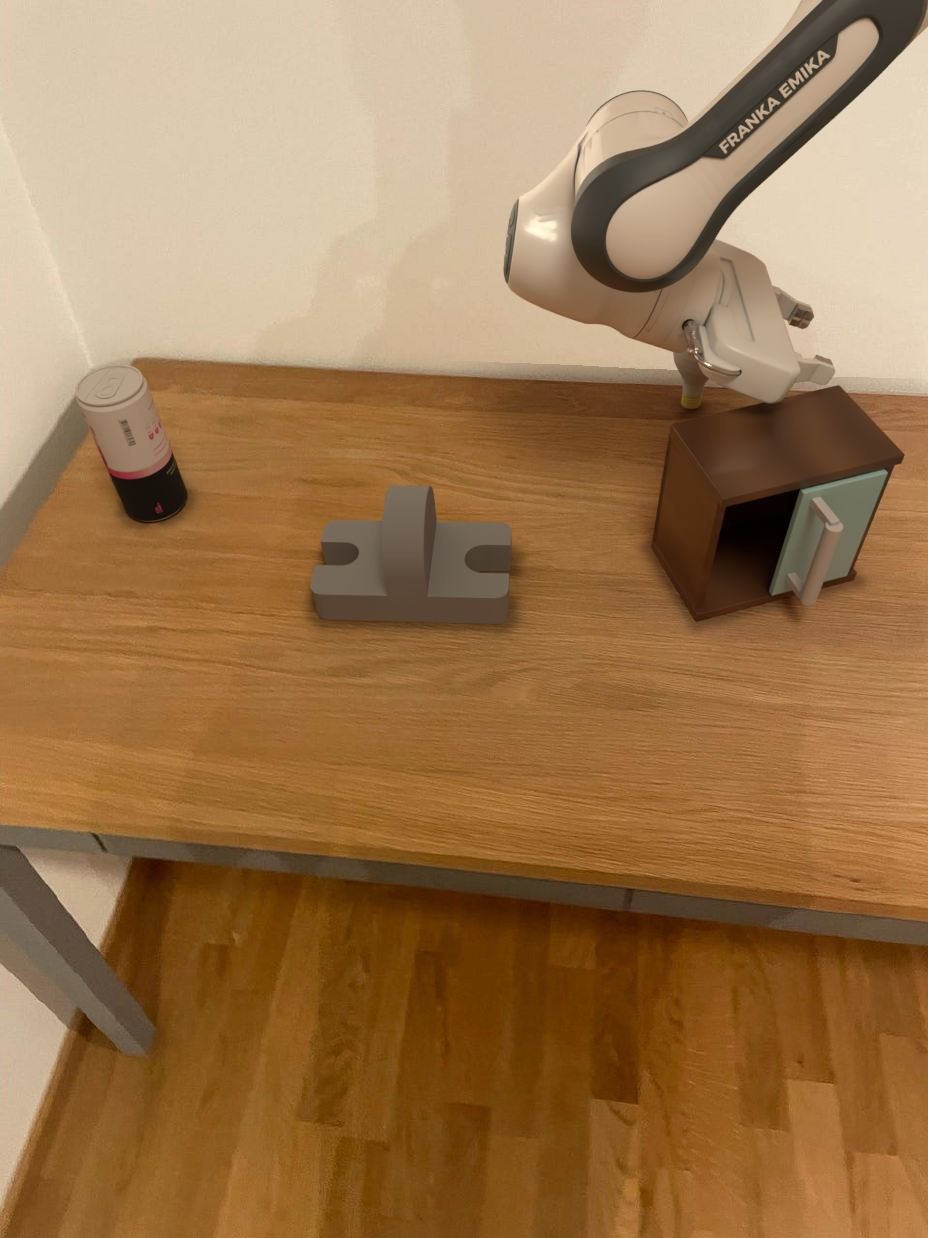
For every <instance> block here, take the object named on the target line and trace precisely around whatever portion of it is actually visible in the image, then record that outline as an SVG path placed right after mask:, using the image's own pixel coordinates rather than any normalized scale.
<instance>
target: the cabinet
mask: <svg viewBox="0 0 928 1238" xmlns="http://www.w3.org/2000/svg"><path fill="white" fill-rule="evenodd" d="M665 448H666V449H665V455H664V461H663V462H664V463H663V468H662V475H661V481H660V486H659V487H660V488H659V495H658V501H657V507H656V512H655V513H656V514H655V520H654V528H653V534H652V540H651V545H650V547H651V549H652V552H653V553H654V555H655V556H656V558H657V559H658V561H659V563H660V564H661V566H662V567H663V569H664V571H665V573H666V574H667V576H668V577H669V579H670V582H672V585H673V586H674V587H675V589H676V591H677V592H678V594H679V596H680V597H681V599H682V601H683V602H684V604H685V606H686V608H687V609H688V611H689V613H690V614H691V616H692V617H693V619H694V621H695V622H700V621H704V620H707V619H712V618H715V617H719V616H723V615H726V614H730V613H734V612H737V611H742V610H745V609H749V608H753V607H756V606H761V605H765V604H768V603H771V602H775V601H779V600H783V599H787V598H790V597H795V596H796V594H795V593H794V591H793V590H791V591H788V592H784V593H780V594H776V595H773V596H772V595H771V594H770V592H769V589H770V586H771V583H772V579H773V576H774V573H775V570H776V566H777V563H778V560H779V557H780V553H781V550H782V547H783V544H784V540H785V537H786V534H787V531H788V527H789V524H790V521H791V518H792V514H793V511H794V508H795V505H796V502H797V498H798V495H799V492H800V489H803V488H807V487H811V486H815V485H819V484H823V483H827V482H831V481H835V480H839V479H843V478H848V477H852V476H856V475H860V474H864V473H868V472H872V471H876V470H880V469H885V470H886V471H887V472H888V474H887V476H886V479H885V481H884V484H883V487H882V489H881V492H880V494H879V497H878V499H877V502H876V504H875V507H874V509H873V512H872V514H871V517H870V519H869V522H868V524H867V527H866V529H865V532H864V534H863V537H862V539H861V542H860V544H859V547H858V549H857V552H856V554H855V557H854V559H853V562H852V564H851V567H850V569H849V572H848V575H847V576H845V577H841V578H837V579H833V580H829V581H826V582H823V584H822V587H821V589H825V588H828V587H832V586H836V585H839V584H840V585H841V584H843V583H847V582H852V581H855V580H856V576H857V574H858V571H856V570H855V566H856V564H857V561H858V558H859V555H860V553H861V550H862V548H863V546H864V543H865V541H866V538H867V536H868V533H869V531H870V528H871V525H872V523H873V520H874V518H875V516H876V513H877V511H878V508H879V506H880V503H881V500H882V498H883V496H884V494H885V491H886V488H887V486H888V483H889V480H890V478H891V476H892V474H893V471H894V469H895V467H896V466H897V465H902V464H903V460H904V459H905V455H906V454H905V453H904V452H903V450H901V449H900V448H899V446H897V444H896V443H895V442H894V441H893V440H892V439H891V438H890V437H889V436H888V435H887V434H886V433H885V432H884V430H882V429H881V428H880V426H879V425H878V424H877V423H876V422H875V421H874V420H873V419H872V418H871V417H870V416H869V414H867V412H865V410H864V409H863V408H861V406H860V405H859V404H858V403H857V401H855V400H854V399H853V398H852V397H851V395H849V393H847V392H846V390H845V389H844V388H843V387H842V386H841V385H839V384H837V385H833V386H828V387H824V388H819V389H816V390H811V391H807V392H803V393H798V394H794V395H793V394H792V395H789V396H785V397H784V399H783V400H782V401H781V402H777V403H772V404H769V403H765V402H759V403H754V404H750V405H749V404H748V405H746V406H740V407H737V408H733V409H728V410H723V411H719V412H714V413H711V414H706V415H701V416H697V417H694V418H688V419H685V420H680V421H676V422H672V423H670V424H669V430H668V437H667V444H666V447H665Z"/></svg>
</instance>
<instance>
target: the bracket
mask: <svg viewBox="0 0 928 1238" xmlns="http://www.w3.org/2000/svg"><path fill="white" fill-rule="evenodd" d="M437 520H438V519H437V511H436V500H435V493H434V489H433V487H432V486H431V485H389V486H388V488H387V490H386V493H385V498H384V504H383V509H382V520H368V519H367V520H366V519H365V520H360V519H359V520H357V519H334V520H331V521H329V522H327V523H326V524H325V525H324V526H323V530H322V534H321V538H320V546H321V550H322V555H323V559H324V563H325V564H314V567H313V573H312V576H311V580H310V583H309V584H310V585H309V586H310V591H311V595H312V599H313V603H314V606H315V611H316V615H317V616H318V617H319V618H320V619H322V620H324V621H347V622H349V621H352V622H391V623H392V622H393V623H428V624H429V623H434V624H435V623H437V624H473V625H474V624H475V625H500V624H503V623H504V622H506V621H507V620H508V619H509V616H510V602H511V600H510V599H511V598H510V591H511V590H510V588H511V587H510V573H506V572H512V561H513V555H512V554H513V553H512V552H513V547H512V545H513V544H512V543H513V542H512V528H511V526H510V525H509V524H507V523H505V522H497V521H495V522H494V521H493V522H492V521H437ZM497 572H499V573H497ZM500 572H501V573H500ZM502 572H503V573H502ZM504 572H505V573H504Z"/></svg>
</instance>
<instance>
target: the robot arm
mask: <svg viewBox="0 0 928 1238" xmlns="http://www.w3.org/2000/svg"><path fill="white" fill-rule="evenodd" d="M927 28H928V0H800V1H799V3H798V6H797V7H796V9H795V10H794V12H793V14H792V16H791V17H790V19H789V20H788V22H786V25H785V26H784V27H783V28H782V30H781V31H780V32H779V33H778V35H777V36H776V37H775V38H774V39H773V40H772V41H771V43H770V44H769V45H767V46H766V48H764V50H762V51H761V52H760V53H759V54H758V56H756V57H755V58H754V59H753V60H752V61H751V62H750V63H749V64H748V65H747V66H746V67H745V68H744V69H743V70H742V71H741V72H740V73H739V74H738V75H737V76H735V78H733V79H732V80H731V81H730V83H728V84H727V85H726V86H725V87H724V88H723V89H722V90H721V91H720V92H719V93H718V94H717V95H716V96H715V97H714V98H713V99H712V100H711V101H710V102H708V103H707V105H706V106H705V107H704V108H702V109H701V110H700V112H699V113H697V115H695V116H694V117H693V118H692V119H691V120H690V121H689V119H688V117H687V116H686V113H684V111H683V110H682V108H681V107H680V106H679V105H678V104H677V102H675V101H674V100H672V99H671V98H669V97H668V96H666V95H664V94H662V93H660V92H656V91H652V90H645V89H644V90H643V89H641V90H640V89H639V90H638V89H637V90H630V91H627V92H626V91H625V92H623V93H620V94H618V95H615V96H613V97H611V98H610V99H609V100H607V101H605V102H603V104H602V105H600V107H598V108H597V109H596V111H594V113H593V114H592V115H591V117H590V118H589V120H588V122H587V124H586V125H585V128H584V129H583V130H582V132H581V133H580V135H579V136H578V138H577V139H576V141H575V142H574V144H573V145H572V147H571V148H570V149H569V151H568V152H567V153H566V154H565V156H564V157H563V158H562V160H561V161H559V163H558V164H557V165H556V167H555V168H553V170H551V172H550V173H549V174H548V175H547V176H546V177H545V178H544V179H543V180H541V182H540V183H539V184H537V185H536V186H535V187H533V188H531V189H530V190H528V191H527V192H525V193H523V194H521V195H520V196H519V197H518V198H517V199H516V200H515V203H513V205H512V208H511V211H510V215H509V219H508V224H507V225H508V226H507V231H506V239H505V249H504V254H503V270H502V271H503V278H504V282H505V283H506V286H507V287H508V289H509V290H510V291H511V292H512V293H513V294H515V295H516V296H517V297H519V298H521V299H522V300H524V301H526V302H528V303H530V304H532V305H534V306H536V307H538V308H540V309H543V310H545V311H548V312H549V313H553V314H555V315H558V316H560V317H564V318H565V319H568V320H572V321H574V322H577V323H578V322H579V323H581V324H584V325H600V326H606V327H609V328H611V329H613V330H615V331H616V332H618V333H620V334H621V335H622V336H624V337H626V338H628V339H631V340H634V341H636V342H637V341H638V342H641V343H644V344H647V345H649V346H652V347H655V348H658V349H662V350H665V351H669V352H671V353H673V352H674V353H682V352H684V351H685V350H686V349H687V350H688V354H689V356H690V357H691V358H693V359H696V360H697V361H698V363H699V367H700V369H701V371H702V373H703V374H704V375H705V376H706V377H708V378H709V380H710V381H712V382H714V383H716V384H717V385H720V386H722V387H724V388H727V389H728V390H730V391H732V392H735V393H738V394H741V395H743V396H746V397H748V398H750V399H754V400H756V401H759V402H760V403H762V402H765V403H769V404H772V403H777V402H781V401H782V400H783V399H784V397H787V394H788V393H789V392H790V390H791V389H792V387H793V386H794V384H798V383H804V382H811V383H814V384H817V385H821V386H826V385H827V384H829V383H830V381H831V380H832V378H833V377H834V375H835V374H836V368H835V366H834V363H833V361H832V359H831V358H827V357H824V356H822V355H819V354H815V355H814V357H813V358H809V357H808V358H807V357H803V355H802V354H801V353H799V352H796V351H795V349H794V346H793V343H792V341H791V337H790V333H789V331H788V328H787V324H788V325H789V326H791V327H794V328H798V329H801V330H805V329H807V328H808V327H809V326H810V325H811V324H810V323H811V322H812V321H813V319H814V318H815V313H814V311H813V308H812V306H811V305H810V304H808V303H805V302H803V301H801V300H797V299H795V298H794V297H793V296H791V295H790V294H789V293H787V292H786V291H784V290H783V289H781V288H780V287H778V286H776V285H773V284H772V281H771V277H770V275H769V274H770V273H769V271H768V269H767V265H766V263H765V262H763V260H761V259H760V258H759V257H757V256H755V254H752V253H750V252H749V251H747V250H745V249H742V248H740V247H737V246H735V245H732V244H730V243H729V242H728V243H727V242H725V241H722V240H721V239H716V238H717V237H718V235H719V234H720V232H721V231H722V228H723V227H724V225H725V224H726V223H727V221H728V220H729V219H730V217H731V216H732V214H733V213H734V212H735V211H736V210H737V208H738V207H739V206H740V205H741V204H742V203H743V202H744V201H745V200H746V199H747V198H748V197H749V196H750V195H751V194H752V193H753V192H754V191H755V190H757V189H758V188H759V187H760V186H761V185H762V184H763V183H764V182H765V181H766V180H767V179H768V178H770V177H771V176H772V175H773V174H774V173H775V172H776V171H777V170H779V169H780V168H781V167H782V166H783V165H784V164H785V163H787V162H788V160H790V159H791V158H792V157H793V156H794V155H795V154H796V153H797V152H799V151H800V150H801V149H802V148H803V147H804V146H805V145H806V144H808V142H810V140H812V139H813V138H814V137H815V136H816V135H818V133H819V132H821V131H823V129H824V128H825V127H827V125H828V124H829V123H830V122H832V121H833V120H834V119H835V118H836V117H837V116H838V115H839V114H841V112H843V111H844V110H845V109H847V107H848V106H849V105H850V104H851V103H853V101H855V99H856V98H858V97H859V96H860V95H861V94H862V93H863V92H864V91H865V90H866V89H867V88H868V87H869V86H870V85H872V83H874V81H875V80H877V78H879V76H881V75H882V74H883V72H885V70H886V69H888V68H889V66H890V65H891V64H892V63H893V62H894V61H895V60H896V59H897V58H898V57H899V56H900V55H901V54H902V53H903V52H904V51H905V50H906V49H907V48H908V47H909V46H910V45H911V44H912V43H913V42H914V41H915V40H916V39H917V38H918V37H919V35H921V34H922V33H923V32H924V31H925V30H926V29H927ZM786 321H787V324H786Z"/></svg>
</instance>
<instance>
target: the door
mask: <svg viewBox="0 0 928 1238" xmlns="http://www.w3.org/2000/svg"><path fill="white" fill-rule="evenodd" d="M887 474H888V472H887V471H886V470H885V469H880V470H876V471H872V472H868V473H864V474H860V475H856V476H852V477H848V478H843V479H839V480H835V481H831V482H827V483H823V484H819V485H815V486H811V487H807V488H803V489H800V492H799V495H798V498H797V502H796V505H795V508H794V511H793V514H792V518H791V521H790V524H789V527H788V531H787V534H786V537H785V540H784V544H783V547H782V550H781V553H780V557H779V560H778V563H777V566H776V570H775V573H774V576H773V579H772V583H771V586H770V589H769V592H770V594H771V595H772V596H773V595H776V594H780V593H784V592H788V591H791V590H793V591H794V593H795V594H796V595H795V596H796V597H797V599H798V600H799V602H800V603H801V605H804V606H805V607H812V606H814V605H815V604H816V603H817V601H818V597H819V595H820V592H821V590H822V588H821V587H822V584H823V582H826V581H829V580H833V579H837V578H841V577H845V576H847V575H848V572H849V569H850V567H851V564H852V562H853V559H854V557H855V554H856V552H857V549H858V547H859V544H860V542H861V539H862V537H863V534H864V532H865V529H866V527H867V524H868V522H869V519H870V517H871V514H872V512H873V509H874V507H875V504H876V502H877V499H878V497H879V494H880V492H881V489H882V487H883V484H884V481H885V479H886V476H887Z"/></svg>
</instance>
